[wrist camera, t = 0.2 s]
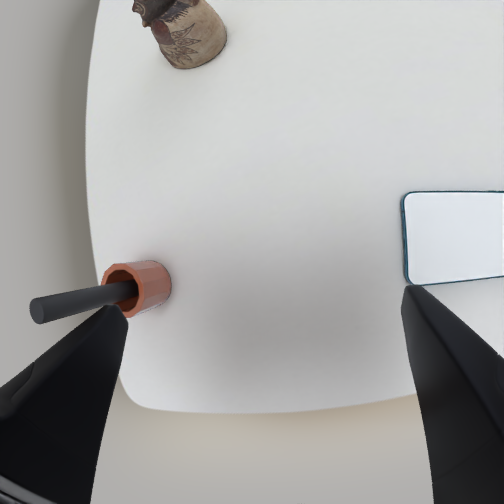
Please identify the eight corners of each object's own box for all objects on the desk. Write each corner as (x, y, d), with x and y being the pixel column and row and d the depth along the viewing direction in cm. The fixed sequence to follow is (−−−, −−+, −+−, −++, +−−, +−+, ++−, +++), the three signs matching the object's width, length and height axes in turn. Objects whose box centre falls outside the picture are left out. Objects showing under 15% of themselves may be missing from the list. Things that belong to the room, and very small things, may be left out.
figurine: (171, 27, 27) (121, -35, 15) (230, 16, 25) (195, -59, 14) (161, 74, 27) (99, 12, 15) (226, 63, 26) (182, -16, 14)
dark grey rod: (157, 287, 27) (46, 317, 13) (146, 295, 27) (36, 328, 14) (149, 273, 27) (36, 294, 13) (138, 281, 27) (26, 305, 14)
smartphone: (404, 286, 23) (533, 271, 20) (407, 287, 22) (538, 272, 19) (398, 192, 23) (528, 193, 20) (401, 190, 22) (533, 192, 19)
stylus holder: (179, 291, 27) (153, 301, 22) (147, 314, 28) (118, 326, 23) (155, 251, 27) (126, 253, 22) (124, 275, 28) (93, 281, 23)
